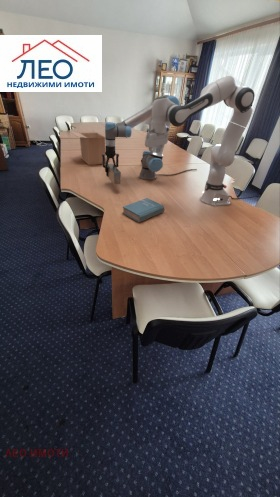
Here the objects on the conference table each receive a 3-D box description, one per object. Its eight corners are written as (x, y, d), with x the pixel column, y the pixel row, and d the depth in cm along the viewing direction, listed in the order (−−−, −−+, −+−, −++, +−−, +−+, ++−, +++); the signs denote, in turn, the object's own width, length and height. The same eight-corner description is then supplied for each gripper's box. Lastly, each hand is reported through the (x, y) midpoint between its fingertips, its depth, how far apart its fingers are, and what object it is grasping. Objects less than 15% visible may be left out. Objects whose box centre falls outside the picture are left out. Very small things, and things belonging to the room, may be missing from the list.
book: (146, 204, 158) (147, 197, 155) (163, 212, 149) (164, 206, 146) (122, 213, 145) (122, 206, 142) (139, 223, 136) (140, 216, 133)
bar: (106, 175, 185) (106, 163, 179) (112, 175, 186) (112, 163, 181) (114, 184, 168) (114, 172, 163) (120, 184, 170) (120, 172, 164)
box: (116, 165, 229) (116, 136, 213) (83, 168, 214) (80, 137, 198) (102, 154, 259) (101, 128, 243) (71, 156, 244) (68, 129, 228)
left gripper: (99, 146, 163) (100, 178, 177) (123, 146, 169) (122, 176, 183) (97, 144, 168) (98, 175, 182) (120, 144, 174) (119, 173, 188)
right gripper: (151, 131, 125) (149, 156, 134) (171, 128, 139) (168, 151, 147) (143, 129, 128) (141, 154, 137) (163, 126, 142) (160, 149, 150)
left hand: (110, 175), depth 182 cm, fingers closed on bar, 5 cm apart
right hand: (155, 153), depth 142 cm, fingers open, 8 cm apart
